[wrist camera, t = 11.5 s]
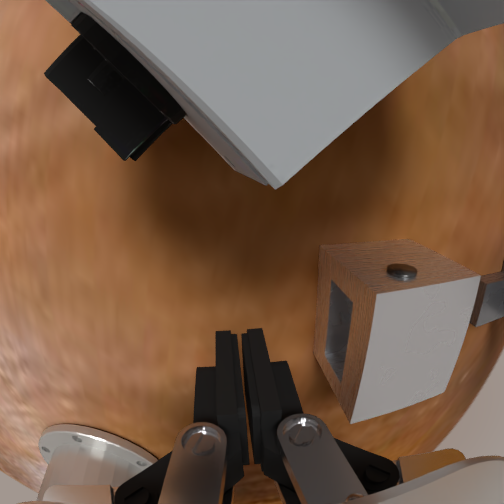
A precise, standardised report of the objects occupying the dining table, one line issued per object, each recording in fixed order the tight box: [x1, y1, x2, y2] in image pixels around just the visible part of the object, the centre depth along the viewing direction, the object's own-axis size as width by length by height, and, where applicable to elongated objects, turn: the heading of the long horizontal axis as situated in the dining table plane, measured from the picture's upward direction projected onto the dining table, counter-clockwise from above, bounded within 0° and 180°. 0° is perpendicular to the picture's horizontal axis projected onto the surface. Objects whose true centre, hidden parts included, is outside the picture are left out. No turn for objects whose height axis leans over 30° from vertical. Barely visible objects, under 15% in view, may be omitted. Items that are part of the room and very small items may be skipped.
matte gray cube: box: [313, 239, 481, 424], centre depth 15 cm, size 7×6×6 cm
